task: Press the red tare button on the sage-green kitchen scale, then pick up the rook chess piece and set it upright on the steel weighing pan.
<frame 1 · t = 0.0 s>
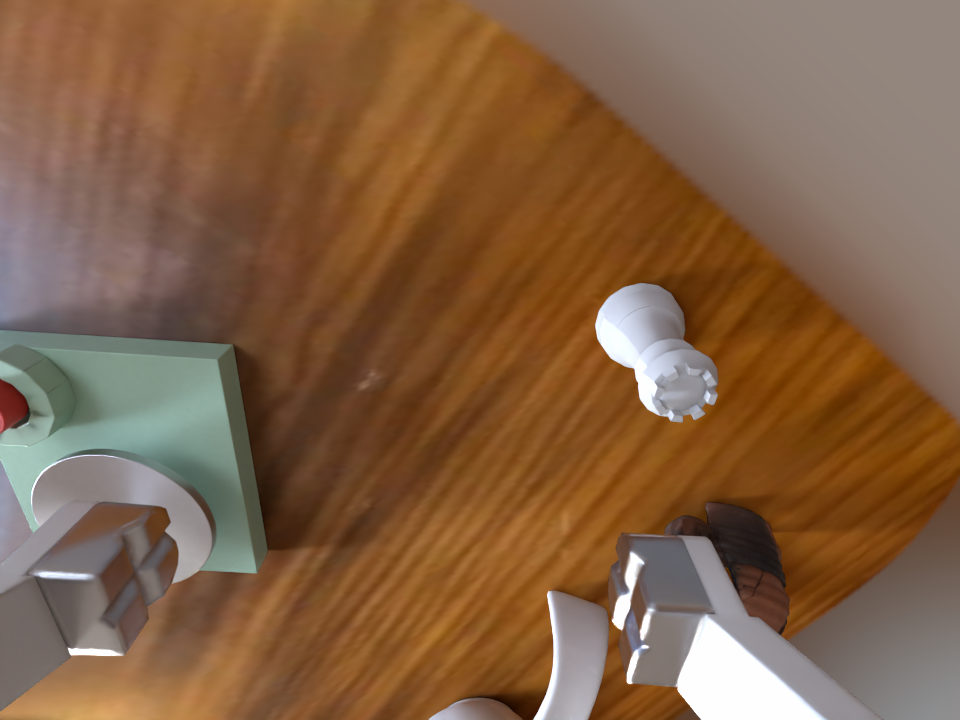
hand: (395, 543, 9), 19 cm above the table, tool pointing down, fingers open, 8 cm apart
pottery mug: (690, 541, 35), on the table
weighing pan: (163, 478, 33), resting on scale
rook chess piece: (634, 318, 28), on the table
spoon rest: (505, 678, 43), on the table
scale: (140, 452, 32), on the table
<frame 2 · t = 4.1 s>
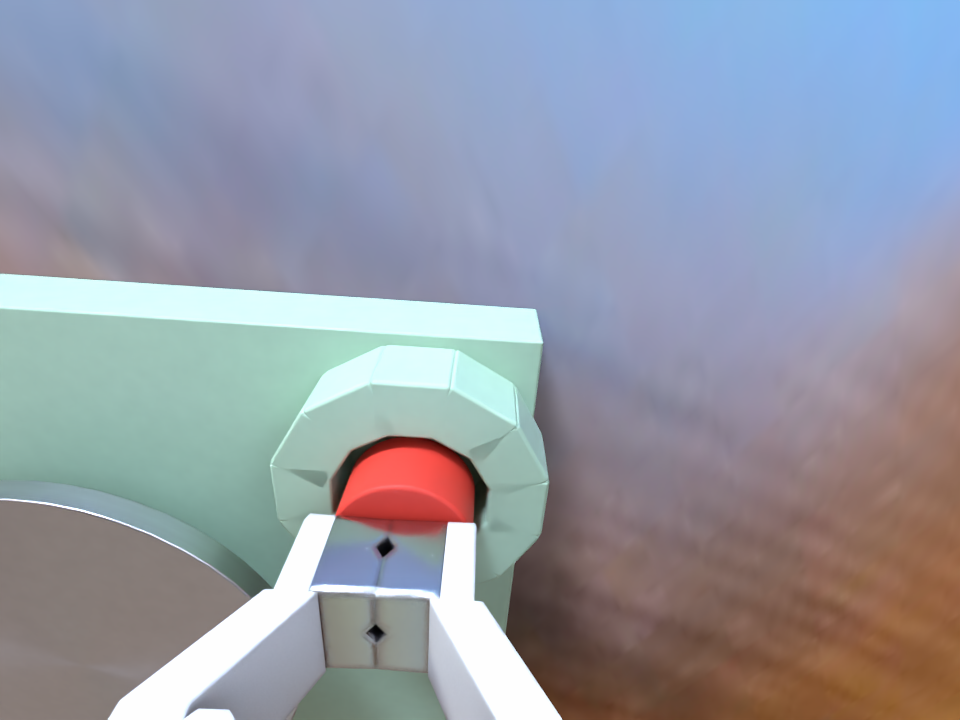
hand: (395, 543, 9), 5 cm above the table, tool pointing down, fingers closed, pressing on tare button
tare button: (407, 512, 10), point 4 cm above the table, slide at 0.0 cm, touching gripper
weighing pan: (178, 533, 16), resting on scale
scale: (239, 512, 15), on the table
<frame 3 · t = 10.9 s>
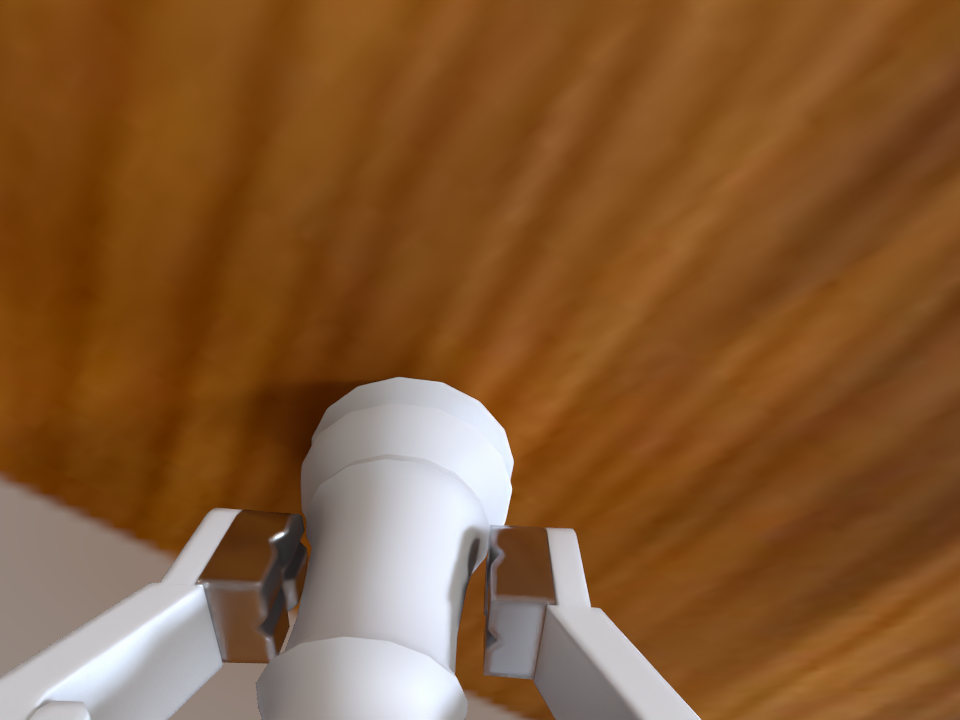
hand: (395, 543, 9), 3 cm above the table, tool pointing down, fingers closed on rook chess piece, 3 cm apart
rook chess piece: (416, 447, 12), on the table, touching gripper
when the fingers open (7 cm above the table, at t = 17.9 s): rook chess piece stays where it is, resting on weighing pan.
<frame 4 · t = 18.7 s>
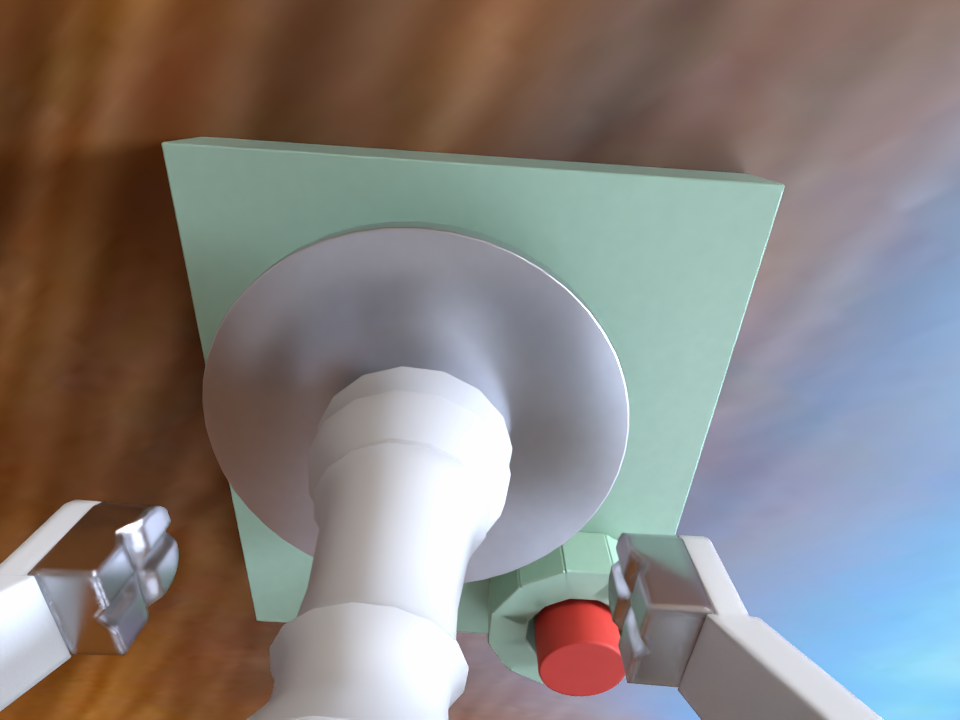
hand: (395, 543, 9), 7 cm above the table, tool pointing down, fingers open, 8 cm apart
tare button: (578, 646, 16), point 4 cm above the table, slide at 0.1 cm
weighing pan: (433, 361, 16), resting on scale
rook chess piece: (418, 435, 12), point 4 cm above the table, touching weighing pan
scale: (462, 417, 17), on the table
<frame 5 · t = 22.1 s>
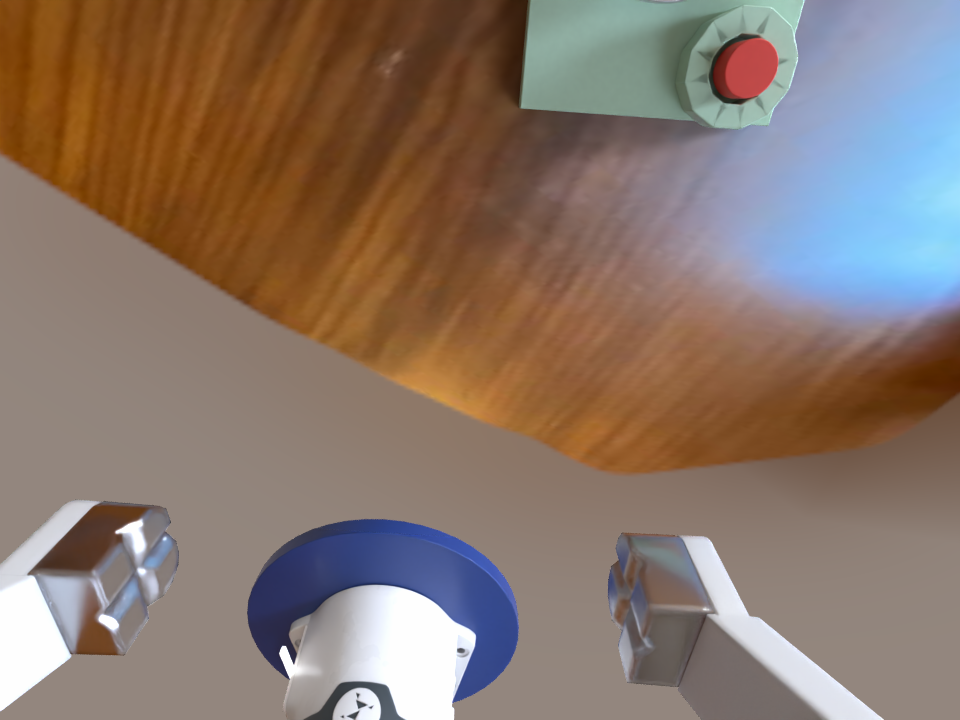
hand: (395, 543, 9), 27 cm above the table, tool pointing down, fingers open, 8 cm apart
tare button: (744, 69, 26), point 4 cm above the table, slide at 0.1 cm
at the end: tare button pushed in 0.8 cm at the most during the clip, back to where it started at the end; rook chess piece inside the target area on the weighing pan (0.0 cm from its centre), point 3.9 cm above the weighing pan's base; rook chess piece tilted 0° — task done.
